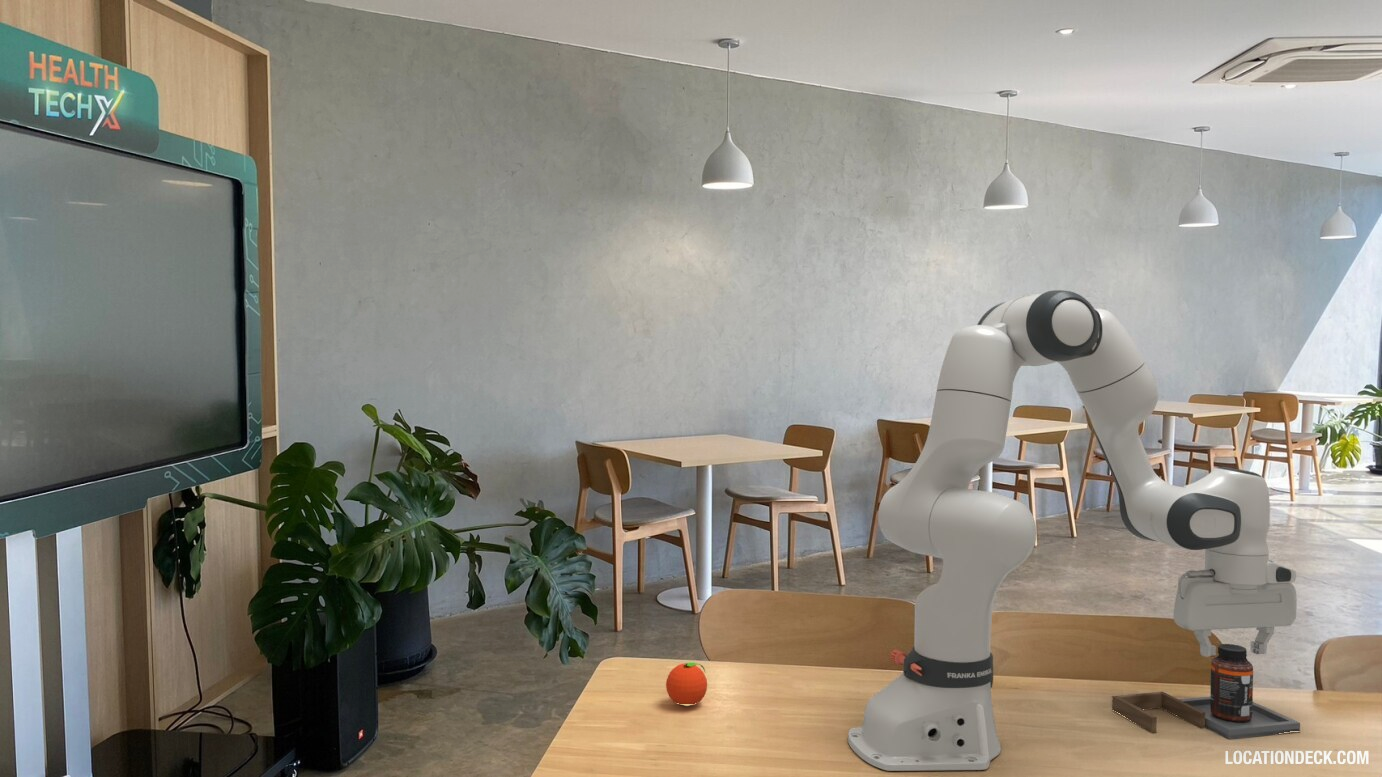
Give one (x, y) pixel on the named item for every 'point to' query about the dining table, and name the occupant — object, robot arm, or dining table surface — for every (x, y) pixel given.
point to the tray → (1258, 725)
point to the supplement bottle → (1231, 684)
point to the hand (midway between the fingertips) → (1233, 654)
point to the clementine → (686, 684)
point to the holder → (1136, 703)
